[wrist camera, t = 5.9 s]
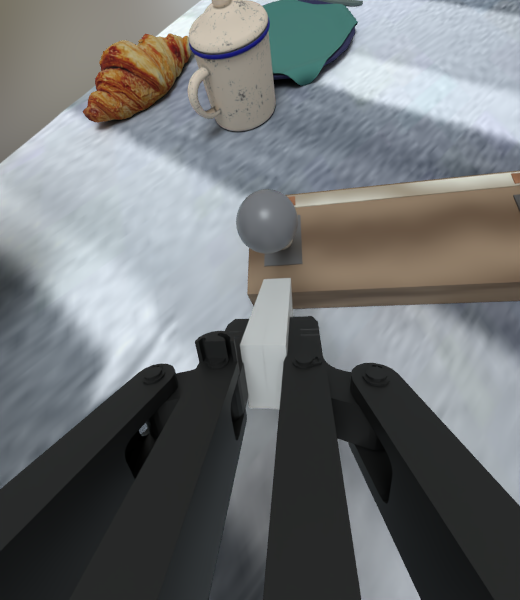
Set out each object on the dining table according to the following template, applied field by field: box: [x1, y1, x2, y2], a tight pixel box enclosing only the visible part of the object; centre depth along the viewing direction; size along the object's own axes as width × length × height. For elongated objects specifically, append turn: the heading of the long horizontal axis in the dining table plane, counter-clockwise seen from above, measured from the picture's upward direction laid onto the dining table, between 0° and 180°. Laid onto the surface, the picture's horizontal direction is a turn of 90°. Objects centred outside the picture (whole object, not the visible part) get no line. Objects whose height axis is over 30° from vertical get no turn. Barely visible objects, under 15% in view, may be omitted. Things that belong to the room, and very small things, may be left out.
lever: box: [236, 189, 298, 254], centre depth 16 cm, size 3×3×12 cm
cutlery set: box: [262, 0, 363, 86], centre depth 41 cm, size 20×30×2 cm, turn 148°
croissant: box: [83, 34, 192, 123], centre depth 40 cm, size 21×10×8 cm, turn 140°
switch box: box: [247, 171, 520, 309], centre depth 23 cm, size 10×26×4 cm, turn 89°
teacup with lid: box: [188, 0, 276, 131], centre depth 31 cm, size 12×9×12 cm
